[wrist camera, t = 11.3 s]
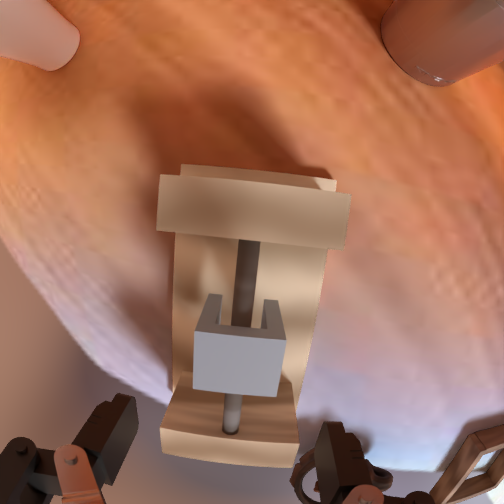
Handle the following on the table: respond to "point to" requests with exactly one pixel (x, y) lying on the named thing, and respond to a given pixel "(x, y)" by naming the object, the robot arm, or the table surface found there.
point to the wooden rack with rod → (245, 297)
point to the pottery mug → (307, 462)
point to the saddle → (238, 352)
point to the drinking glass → (36, 34)
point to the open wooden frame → (471, 468)
